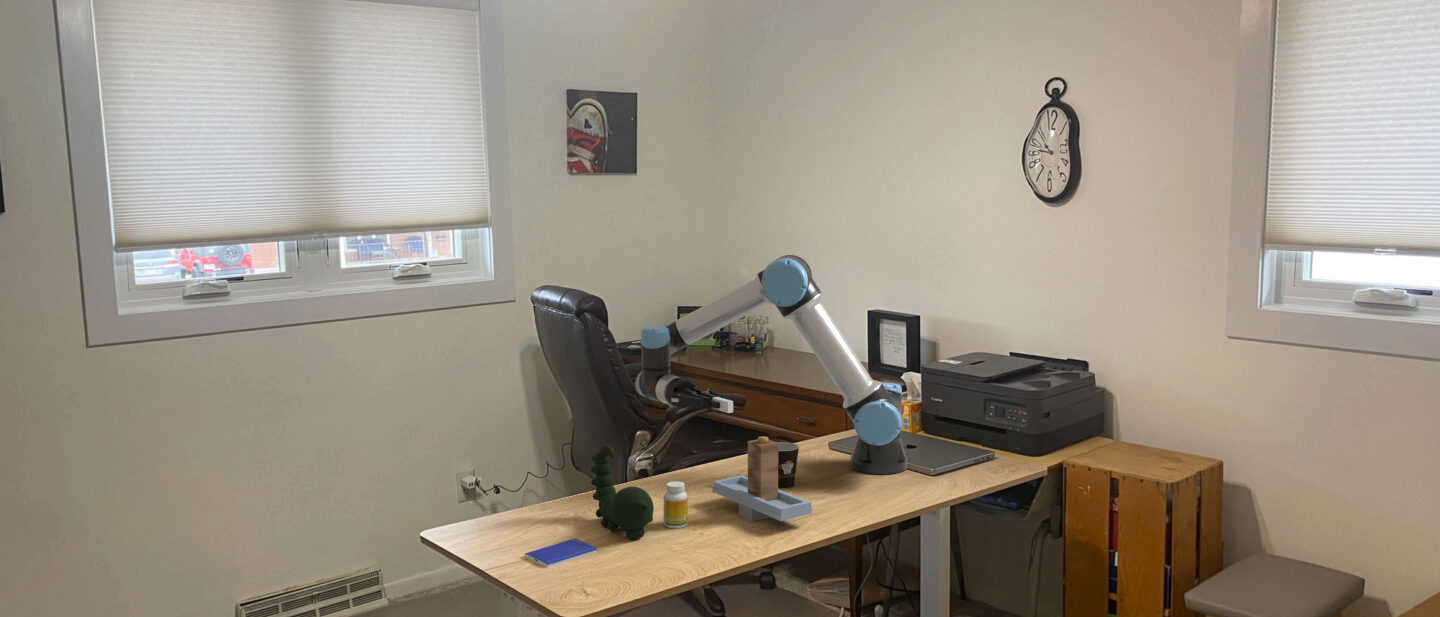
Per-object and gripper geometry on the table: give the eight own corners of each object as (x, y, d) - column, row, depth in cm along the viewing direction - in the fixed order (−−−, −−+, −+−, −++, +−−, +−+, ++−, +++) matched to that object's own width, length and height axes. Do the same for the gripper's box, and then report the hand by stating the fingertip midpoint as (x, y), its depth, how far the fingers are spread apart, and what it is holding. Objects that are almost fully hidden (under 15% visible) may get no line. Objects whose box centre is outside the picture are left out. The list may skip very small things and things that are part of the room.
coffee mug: (799, 480, 267) (799, 442, 265) (798, 490, 258) (798, 451, 257) (754, 479, 268) (754, 441, 267) (751, 489, 259) (751, 450, 258)
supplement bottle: (660, 523, 234) (659, 482, 233) (681, 519, 236) (681, 479, 235) (669, 530, 229) (669, 488, 228) (691, 526, 232) (691, 485, 230)
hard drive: (573, 537, 222) (524, 552, 214) (596, 547, 216) (547, 562, 208) (574, 544, 222) (525, 559, 214) (597, 554, 216) (547, 570, 208)
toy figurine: (583, 525, 237) (628, 550, 216) (578, 444, 236) (623, 460, 215) (620, 519, 242) (668, 542, 220) (616, 439, 241) (664, 454, 219)
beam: (712, 503, 248) (712, 481, 247) (742, 497, 253) (742, 474, 252) (780, 534, 227) (780, 509, 226) (811, 526, 232) (812, 502, 231)
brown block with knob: (747, 496, 239) (747, 437, 237) (764, 492, 242) (764, 434, 240) (760, 501, 235) (761, 441, 233) (778, 497, 238) (778, 438, 236)
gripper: (697, 402, 269) (752, 418, 250) (655, 409, 262) (708, 426, 243) (697, 374, 268) (752, 388, 249) (654, 380, 261) (707, 395, 242)
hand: (730, 407), depth 246 cm, fingers closed
